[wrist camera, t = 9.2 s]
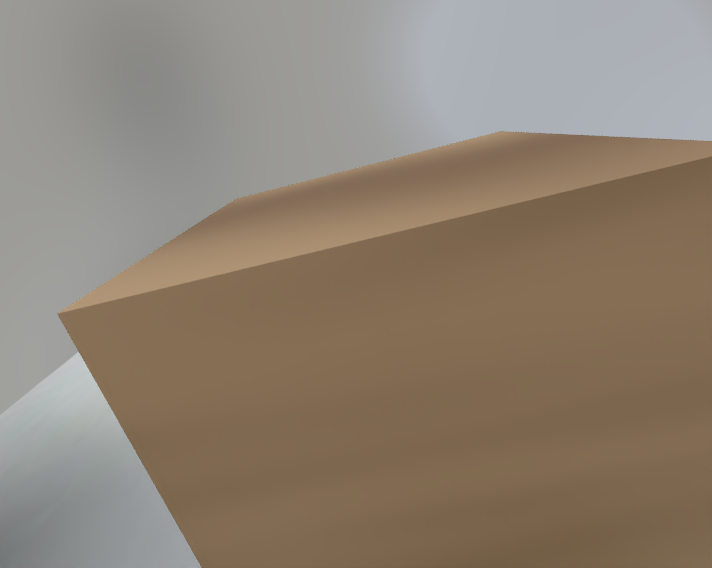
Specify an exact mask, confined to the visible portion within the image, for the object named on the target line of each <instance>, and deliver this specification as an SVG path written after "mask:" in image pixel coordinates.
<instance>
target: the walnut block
mask: <svg viewBox="0 0 712 568" xmlns="http://www.w3.org/2000/svg"><path fill="white" fill-rule="evenodd" d="M58 316H59V318H60V319H61V321H62V323H63V324H64V326H65V328H66V330H67V332H68V333H69V335H70V337H71V339H72V340H73V342H74V344H75V346H76V347H77V349H78V351H79V353H80V354H81V356H82V358H83V360H84V361H85V363H86V365H87V367H88V369H89V370H90V372H91V374H92V376H93V377H94V379H95V381H96V383H97V384H98V386H99V388H100V390H101V391H102V393H103V395H104V397H105V398H106V400H107V402H108V404H109V405H110V407H111V409H112V411H113V412H114V414H115V416H116V418H117V419H118V421H119V423H120V425H121V426H122V428H123V430H124V432H125V433H126V435H127V437H128V439H129V440H130V442H131V444H132V446H133V448H134V449H135V451H136V453H137V455H138V456H139V458H140V460H141V462H142V463H143V465H144V467H145V469H146V470H147V472H148V474H149V476H150V477H151V479H152V481H153V483H154V484H155V486H156V488H157V490H158V491H159V493H160V495H161V497H162V498H163V500H164V502H165V504H166V505H167V507H168V509H169V511H170V512H171V514H172V516H173V518H174V519H175V521H176V523H177V525H178V527H179V528H180V530H181V532H182V534H183V535H184V537H185V539H186V541H187V542H188V544H189V546H190V548H191V549H192V551H193V553H194V555H195V556H196V558H197V560H198V562H199V563H200V565H201V567H202V568H712V141H694V140H672V139H651V138H649V139H648V138H630V137H608V136H588V135H567V134H544V133H524V132H502V131H500V132H496V133H492V134H489V135H485V136H481V137H477V138H473V139H469V140H465V141H462V142H457V143H453V144H450V145H446V146H442V147H438V148H434V149H430V150H426V151H422V152H418V153H414V154H410V155H406V156H402V157H399V158H394V159H391V160H387V161H383V162H379V163H375V164H371V165H367V166H363V167H359V168H355V169H351V170H348V171H343V172H340V173H336V174H332V175H328V176H324V177H320V178H316V179H312V180H308V181H305V182H300V183H296V184H293V185H289V186H285V187H281V188H277V189H273V190H269V191H265V192H261V193H257V194H254V195H249V196H246V197H242V198H238V199H235V200H233V201H232V202H231V203H229V204H227V205H226V206H224V207H223V208H221V209H219V210H218V211H216V212H215V213H213V214H212V215H210V216H209V217H207V218H205V219H204V220H202V221H201V222H199V223H198V224H196V225H195V226H193V227H191V228H190V229H188V230H187V231H185V232H184V233H182V234H181V235H179V236H177V237H176V238H174V239H173V240H171V241H170V242H168V243H167V244H165V245H163V246H162V247H160V248H159V249H157V250H156V251H154V252H153V253H151V254H149V255H148V256H146V257H145V258H143V259H142V260H140V261H139V262H137V263H135V264H134V265H132V266H131V267H129V268H128V269H126V270H124V271H123V272H121V273H120V274H118V275H117V276H115V277H114V278H112V279H111V280H109V281H107V282H106V283H104V284H103V285H101V286H100V287H98V288H96V289H95V290H94V291H92V292H90V293H89V294H87V295H86V296H84V297H82V298H81V299H79V300H78V301H76V302H75V303H73V304H72V305H70V306H68V307H67V308H65V309H64V310H63V311H61V312H59V313H58Z"/></svg>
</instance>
